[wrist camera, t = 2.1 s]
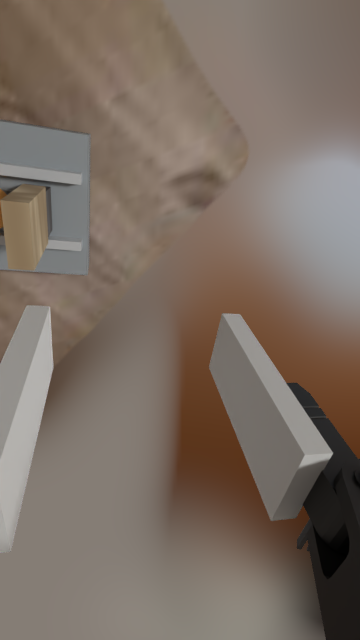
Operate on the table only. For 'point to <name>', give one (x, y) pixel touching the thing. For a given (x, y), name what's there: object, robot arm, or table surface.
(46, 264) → the board
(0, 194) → the ball
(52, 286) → the table surface
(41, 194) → the tan block
